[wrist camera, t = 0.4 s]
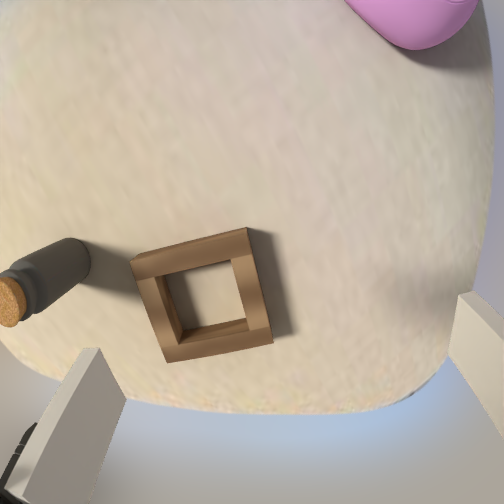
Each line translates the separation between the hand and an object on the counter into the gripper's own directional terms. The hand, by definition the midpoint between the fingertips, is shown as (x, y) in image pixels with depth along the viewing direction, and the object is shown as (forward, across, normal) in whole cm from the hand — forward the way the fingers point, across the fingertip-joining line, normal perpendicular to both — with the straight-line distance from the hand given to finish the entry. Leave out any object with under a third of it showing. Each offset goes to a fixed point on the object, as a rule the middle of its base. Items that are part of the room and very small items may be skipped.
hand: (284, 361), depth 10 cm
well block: (+25, -8, -10) cm, 28 cm away
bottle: (+26, -25, -3) cm, 36 cm away
